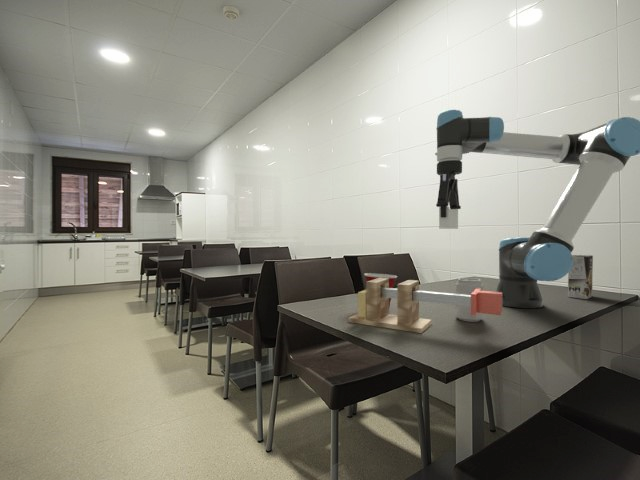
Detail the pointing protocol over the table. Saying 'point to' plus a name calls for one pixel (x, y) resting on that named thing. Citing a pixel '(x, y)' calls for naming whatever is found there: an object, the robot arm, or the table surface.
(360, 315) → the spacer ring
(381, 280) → the bearing stand
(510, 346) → the table surface
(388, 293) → the shaft
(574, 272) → the coffee box
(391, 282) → the plastic cup
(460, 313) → the can
